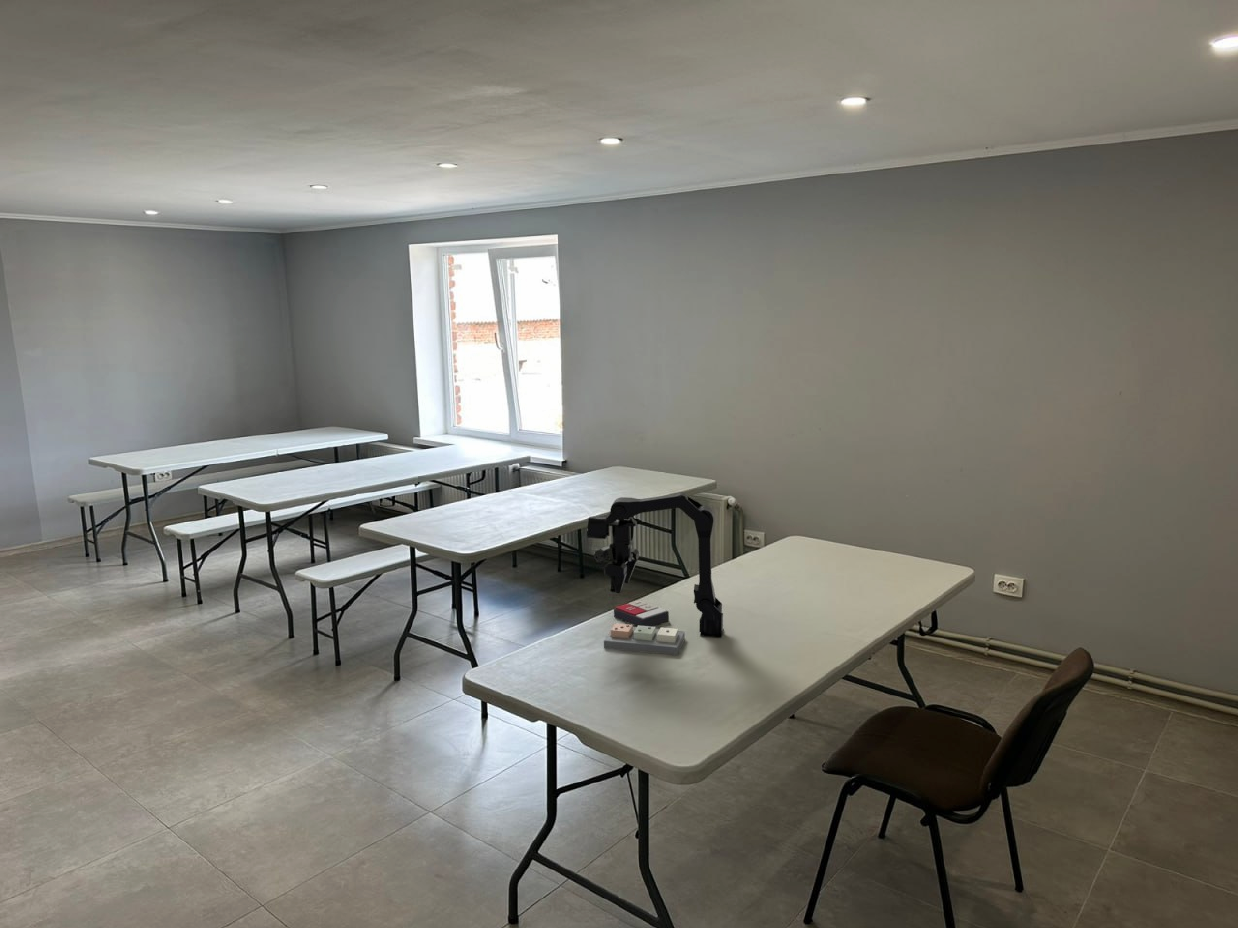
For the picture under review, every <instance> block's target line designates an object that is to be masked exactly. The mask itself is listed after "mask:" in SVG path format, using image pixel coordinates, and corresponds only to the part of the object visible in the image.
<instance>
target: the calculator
mask: <svg viewBox="0 0 1238 928" xmlns="http://www.w3.org/2000/svg"><path fill="white" fill-rule="evenodd" d="M669 615H670V614H669V611H668V610H667V609H664V608H661V607H659V606H657V605H653V604H651V603H647V602H645V601H643V600H639V599H638V600H635V601H631V602H628V603H625V604H622V605H618V606H615V607H614V608H613V617H614V618H616V619H618V620H620V621H622V622H625V623H626V624H629V625H633V627H637V626H638V625H639V626H650V627H658V626H660V625H663V624H665V623H666V624H667V623H668V622H670V616H669Z"/></svg>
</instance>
